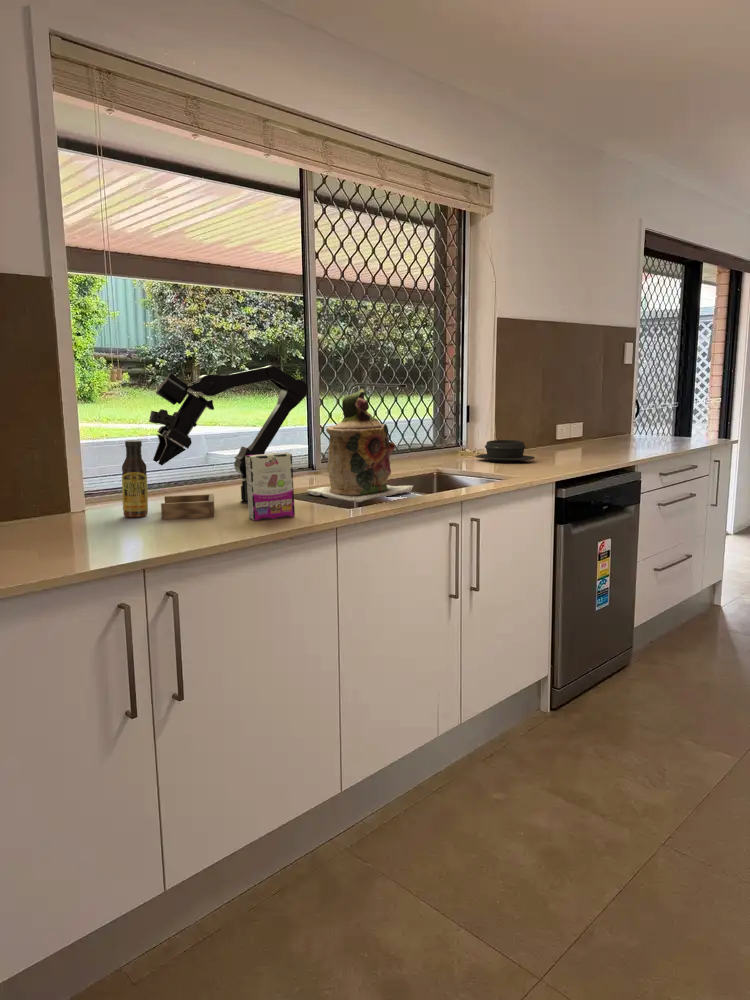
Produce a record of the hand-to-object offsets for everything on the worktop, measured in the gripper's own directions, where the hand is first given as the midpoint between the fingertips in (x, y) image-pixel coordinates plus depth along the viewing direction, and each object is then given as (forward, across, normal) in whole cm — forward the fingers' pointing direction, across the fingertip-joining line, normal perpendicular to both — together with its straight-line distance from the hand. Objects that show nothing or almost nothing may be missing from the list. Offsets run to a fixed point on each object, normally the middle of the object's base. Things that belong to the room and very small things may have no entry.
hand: (157, 462), depth 191 cm
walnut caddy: (+7, +9, +13) cm, 17 cm away
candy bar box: (-3, +25, +27) cm, 37 cm away
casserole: (-75, -44, +127) cm, 154 cm away
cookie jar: (-24, +2, +56) cm, 61 cm away
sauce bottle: (+15, +6, +2) cm, 16 cm away
